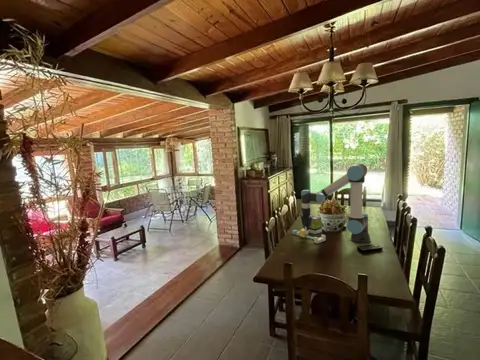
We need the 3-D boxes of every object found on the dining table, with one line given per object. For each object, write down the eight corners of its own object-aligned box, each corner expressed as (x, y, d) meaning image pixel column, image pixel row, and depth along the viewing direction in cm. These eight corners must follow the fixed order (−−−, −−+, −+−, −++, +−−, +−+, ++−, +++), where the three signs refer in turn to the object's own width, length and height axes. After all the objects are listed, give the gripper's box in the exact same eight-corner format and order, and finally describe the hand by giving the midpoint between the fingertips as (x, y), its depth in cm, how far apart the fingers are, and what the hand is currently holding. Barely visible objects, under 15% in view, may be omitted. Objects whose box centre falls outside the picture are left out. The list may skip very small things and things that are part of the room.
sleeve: (308, 236, 254) (308, 229, 253) (304, 237, 251) (304, 231, 250) (304, 235, 258) (303, 228, 257) (300, 236, 255) (299, 229, 254)
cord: (322, 241, 239) (322, 239, 239) (321, 242, 238) (321, 240, 238) (294, 233, 265) (294, 231, 265) (293, 233, 264) (293, 232, 264)
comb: (325, 240, 242) (325, 235, 241) (317, 243, 236) (317, 238, 235) (322, 239, 245) (322, 234, 244) (314, 242, 239) (314, 237, 238)
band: (300, 234, 260) (300, 231, 260) (298, 235, 258) (297, 232, 258) (299, 234, 261) (299, 231, 261) (297, 235, 259) (296, 232, 259)
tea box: (302, 231, 270) (302, 216, 268) (309, 228, 276) (308, 214, 274) (315, 234, 258) (314, 218, 257) (322, 232, 264) (321, 216, 263)
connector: (298, 233, 263) (298, 230, 263) (295, 234, 261) (295, 231, 260) (295, 232, 266) (295, 229, 266) (291, 233, 264) (291, 230, 263)
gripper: (314, 207, 245) (315, 234, 248) (303, 205, 256) (304, 231, 259) (308, 209, 241) (309, 236, 244) (297, 207, 252) (298, 232, 255)
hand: (306, 233), depth 252 cm, fingers closed
